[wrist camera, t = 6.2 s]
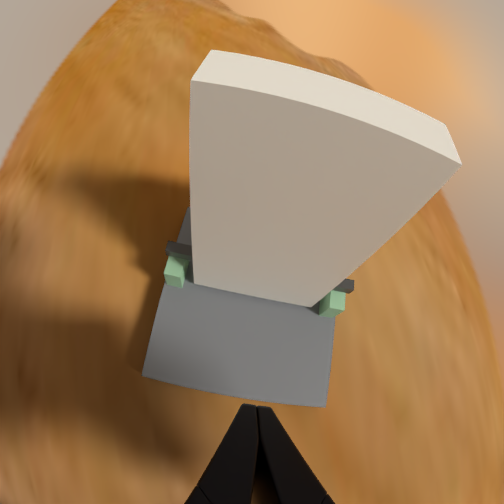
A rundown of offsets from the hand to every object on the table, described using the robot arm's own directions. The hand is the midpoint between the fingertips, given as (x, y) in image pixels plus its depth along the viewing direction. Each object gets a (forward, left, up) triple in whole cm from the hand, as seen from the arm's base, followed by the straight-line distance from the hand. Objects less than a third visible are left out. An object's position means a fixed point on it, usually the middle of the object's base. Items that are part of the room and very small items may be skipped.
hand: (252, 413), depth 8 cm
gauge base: (+3, +4, -7) cm, 8 cm away
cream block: (+4, +5, -5) cm, 8 cm away
